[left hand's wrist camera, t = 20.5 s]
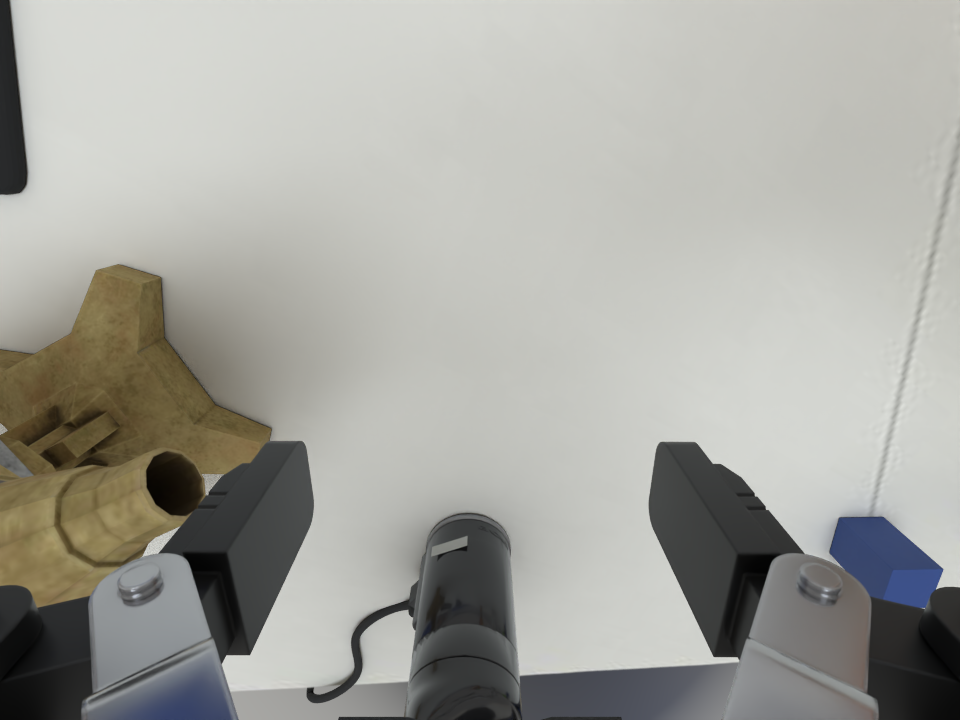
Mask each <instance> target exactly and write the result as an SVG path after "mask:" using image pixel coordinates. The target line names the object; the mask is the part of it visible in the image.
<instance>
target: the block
mask: <svg viewBox="0 0 960 720" xmlns="http://www.w3.org/2000/svg"><path fill="white" fill-rule="evenodd" d="M830 554H831V555H832V556H833V557H834V558H835V559H836V561H837V562H838V563H839V564H840V565H841V566H842V567H843V568H844V569H845V570H846V571H847V572H848V573H850V574H851V575H852V576H854V577H855V578H856V579H857V580H858V581H859V582H860V583H861V584H862V585H863V586H864V587H865V589H866V590H867V592H868V593H869V596H871V597H875V598H879V599H883V600H888V601H892V602H896V603H901V604H905V605H909V606H914V607H918V608H926V605H927V603H928V600H929V598H930V596H931V593H932V592H933V591H934V590H936V587H937V585H938V582H939V580H940V577H941V575H942V572H943V568H941V567H940V566H939V565H938V564H937V563H936V562H935V561H933V560H932V559H931V558H930V557H929V556H928V555H926V554H925V553H924V552H923V551H922V550H921V549H920V548H918V547H917V546H916V545H915V544H914V543H913V542H912V541H910V540H909V539H908V538H907V537H906V536H905V535H903V534H902V533H901V532H900V531H899V530H898V529H897V528H895V527H894V526H893V525H892V524H891V523H890V522H888V521H887V520H886V519H885V518H884V517H853V518H839V521H838V524H837V528H836V531H835V535H834V539H833V542H832V546H831V549H830Z"/></svg>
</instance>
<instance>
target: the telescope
mask: <svg viewBox="0 0 960 720" xmlns="http://www.w3.org/2000/svg"><path fill="white" fill-rule="evenodd" d="M0 423H1V424H2V425H4V427H5V428H6V429H7V430H8V431H7V432H5V433H3V434H1V435H0V586H4V585H18V586H23V587H25V588H27V589H28V590H29V591H30V592H31V594H32V596H33V599H34V601H35V604H36V606H37V608H38V607H43V606H47V605H52V604H56V603H60V602H65V601H69V600H73V599H78V598H82V597H86V596H90V595H91V593H92V592H93V590H94V589H95V587H96V586H97V585H98V584H99V583H100V582H101V581H102V580H103V579H104V578H105V577H106V576H108V575H109V574H110V573H112V572H113V571H114V570H116V569H118V568H119V567H121V566H123V565H125V564H127V563H129V562H131V561H133V560H136V559H139V558H141V557H142V556H143V554H144V552H145V549H146V547H147V545H148V543H150V542H151V541H152V540H153V539H154V538H155V537H158V536H160V535H162V534H164V533H166V532H168V531H171V530H173V529H175V528H177V527H179V526H181V525H182V524H183V523H184V522H185V521H186V519H187V518H188V517H189V516H190V515H191V513H192V512H193V511H194V510H195V509H198V505H199V504H200V502H201V501H202V500H203V499H204V498H205V496H206V495H205V483H204V478H203V476H202V474H226V473H228V472H229V471H231V470H233V469H234V468H236V467H237V466H239V465H240V464H242V463H251V461H252V460H253V459H254V458H255V456H256V455H257V454H258V452H259V451H260V450H261V448H262V447H263V446H264V444H265V443H266V442H268V441H269V440H270V435H271V430H272V429H271V428H268V427H266V426H264V425H261V424H259V423H256V422H254V421H252V420H249V419H247V418H245V417H242V416H240V415H238V414H235V413H233V412H231V411H228V410H226V409H224V408H221V407H219V406H217V405H215V404H214V403H213V401H212V400H211V399H210V397H209V396H208V395H207V393H206V392H205V391H204V389H203V388H202V387H201V385H200V384H199V383H198V382H197V380H196V379H195V378H194V376H193V375H192V374H191V372H190V371H189V370H188V368H187V367H186V366H185V364H184V363H183V362H182V361H181V359H180V358H179V357H178V355H177V354H176V353H175V351H174V350H173V349H172V347H171V346H170V345H169V343H168V342H167V341H166V340H165V338H164V325H163V308H162V292H161V277H158V276H155V275H151V274H148V273H145V272H142V271H138V270H135V269H132V268H129V267H125V266H122V265H119V264H118V265H114V266H110V267H107V268H103V269H99V270H96V272H95V274H94V277H93V279H92V282H91V284H90V287H89V289H88V292H87V294H86V297H85V299H84V302H83V304H82V307H81V309H80V312H79V314H78V317H77V319H76V322H75V324H74V327H73V329H72V332H71V334H69V335H67V336H66V337H64V338H62V339H60V340H58V341H57V342H55V343H53V344H51V345H50V346H48V347H46V348H44V349H42V350H41V351H39V352H37V353H35V354H26V353H19V352H12V351H5V350H0Z"/></svg>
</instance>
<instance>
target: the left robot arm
mask: <svg viewBox="0 0 960 720" xmlns="http://www.w3.org/2000/svg"><path fill="white" fill-rule="evenodd" d="M313 510H314V499H313V491H312V484H311V477H310V470H309V463H308V456H307V450H306V446H305V444H304V443H303V442H302V441H268V442H266V443H265V444H264V446H263V447H262V448H261V450H260V451H259V452H258V454H257V455H256V456H255V458H254V459H253V460H252V461H251V463H242V464H240V465H239V466H237V467H236V468H234V469H233V470H231V471H229V472H228V473H226V474H225V475H223V476H222V477H221V478H220V479H219V481H218V482H217V483H216V484H215V485H214V487H213V488H212V489H211V490H210V491H209V495H208V496H205V498H204V499H203V500H202V501H201V502H200V504H199V505H198V509H195V510H194V511H193V512H192V513H191V515H190V516H189V517H188V518H187V519H186V521H185V522H184V523H183V524H182V525H181V527H180V528H179V529H178V530H177V532H176V533H175V534H174V535H173V536H172V538H171V539H170V540H169V541H168V542H167V544H166V545H165V546H164V547H163V549H162V550H161V551H160V552H159V553H158V554H153V555H149V556H145V557H142V558H139V559H136V560H133V561H131V562H129V563H127V564H125V565H123V566H121V567H119V568H118V569H116V570H114V571H113V572H112V573H110V574H109V575H108V576H106V577H105V578H104V579H103V580H102V581H101V582H100V583H99V584H98V585H97V586H96V587H95V589H94V590H93V592H92V593H91V595H90V596H86V597H82V598H78V599H73V600H69V601H65V602H60V603H56V604H52V605H47V606H43V607H38V608H37V606H36V604H35V601H34V599H33V596H32V594H31V592H30V591H29V590H28V589H27V588H25V587H23V586H18V585H4V586H0V720H239V719H238V716H237V713H236V710H235V706H234V703H233V700H232V697H231V693H230V690H229V687H228V684H227V680H226V677H225V674H224V671H223V668H222V662H223V661H224V659H225V657H226V655H250V654H251V652H252V650H253V648H254V645H255V643H256V641H257V639H258V637H259V635H260V633H261V630H262V628H263V626H264V624H265V622H266V620H267V618H268V615H269V613H270V611H271V609H272V607H273V605H274V603H275V600H276V598H277V596H278V594H279V592H280V590H281V588H282V585H283V583H284V581H285V579H286V577H287V575H288V573H289V570H290V568H291V566H292V564H293V562H294V560H295V558H296V556H297V553H298V551H299V549H300V547H301V545H302V543H303V541H304V538H305V536H306V534H307V532H308V530H309V528H310V525H311V522H312V517H313ZM649 515H650V520H651V524H652V527H653V530H654V532H655V534H656V536H657V538H658V540H659V542H660V544H661V547H662V549H663V551H664V553H665V555H666V557H667V559H668V561H669V563H670V566H671V568H672V570H673V572H674V574H675V576H676V578H677V580H678V582H679V585H680V587H681V589H682V591H683V593H684V595H685V597H686V599H687V601H688V604H689V606H690V608H691V610H692V612H693V614H694V616H695V618H696V620H697V623H698V625H699V627H700V629H701V631H702V633H703V635H704V637H705V640H706V642H707V644H708V646H709V648H710V650H711V652H712V654H713V656H714V657H738V659H739V660H740V661H739V664H738V668H737V671H736V674H735V677H734V680H733V684H732V687H731V690H730V693H729V697H728V700H727V703H726V706H725V710H724V713H723V716H722V719H721V720H960V588H959V587H943V588H939V589H937V590H934V591H933V592H932V593H931V596H930V598H929V600H928V603H927V605H926V608H925V609H922V608H918V607H914V606H909V605H905V604H901V603H896V602H892V601H888V600H883V599H879V598H875V597H871V596H869V593H868V592H867V590H866V589H865V587H864V586H863V585H862V584H861V583H860V582H859V581H858V580H857V579H856V578H855V577H854V576H852V575H851V574H850V573H848V572H847V571H846V570H844V569H842V568H841V567H839V566H837V565H835V564H833V563H831V562H829V561H827V560H824V559H821V558H818V557H815V556H811V555H807V554H804V552H803V551H802V550H801V549H800V548H799V546H798V545H797V544H796V543H795V541H794V540H793V539H792V538H791V537H790V535H789V534H788V533H787V532H786V531H785V529H784V528H783V527H782V526H781V525H780V523H779V522H778V521H777V520H776V519H775V517H774V516H773V515H772V514H771V513H770V511H769V510H766V507H765V505H764V504H763V503H762V502H761V501H760V499H759V498H758V497H755V493H754V492H753V491H752V490H751V489H750V487H749V486H748V485H747V484H746V482H745V481H744V480H743V479H742V478H741V477H740V476H738V475H737V474H735V473H734V472H732V471H731V470H729V469H728V468H726V467H725V466H723V465H721V464H712V462H711V461H710V460H709V458H708V457H707V456H706V454H705V453H704V452H703V451H702V449H701V448H700V447H699V445H698V444H697V443H695V442H660V443H659V444H658V446H657V449H656V454H655V461H654V468H653V475H652V482H651V489H650V496H649ZM510 555H511V549H510V541H509V538H508V536H507V534H506V532H505V531H504V529H503V528H502V527H501V526H500V525H499V524H497V523H496V522H495V521H493V520H491V519H489V518H487V517H484V516H481V515H475V514H461V515H456V516H452V517H450V518H447V519H445V520H443V521H442V522H440V523H439V524H438V525H437V526H436V527H435V528H434V529H433V530H432V532H431V533H430V535H429V538H428V541H427V547H426V554H425V555H424V556H423V557H422V563H421V569H420V576H419V581H417V582H416V583H415V584H414V585H413V586H412V587H411V593H410V599H409V601H406V602H402V603H399V604H395V605H392V606H389V607H386V608H384V609H381V610H379V611H377V612H375V613H373V614H372V615H370V616H369V617H367V618H366V619H365V620H364V621H363V622H362V623H361V624H360V625H359V626H358V627H357V628H356V630H355V632H354V633H353V636H352V640H351V647H352V653H353V658H354V663H355V669H354V673H353V675H352V676H351V677H350V678H349V679H348V680H347V681H346V682H345V683H344V684H342V685H341V686H339V687H338V688H336V689H334V690H332V691H330V692H328V693H325V694H321V695H317V694H314V687H309V688H307V698H308V700H309V701H310V702H312V703H323V702H326V701H329V700H332V699H334V698H336V697H338V696H339V695H341V694H343V693H344V692H346V691H347V690H348V689H349V688H351V687H352V686H353V685H354V684H355V683H356V682H357V680H358V678H359V677H360V675H361V672H362V659H361V654H360V649H359V639H360V636H361V634H362V633H363V632H364V631H365V630H366V629H367V628H368V627H369V626H370V625H371V624H373V623H374V622H376V621H377V620H379V619H381V618H383V617H385V616H387V615H389V614H392V613H395V612H398V611H402V610H409V615H410V616H411V617H413V628H414V630H415V631H416V632H415V639H414V646H413V654H412V662H411V669H410V676H409V684H408V691H407V698H406V706H405V713H404V717H339V719H338V720H522V704H521V690H520V677H519V664H518V653H517V640H516V627H515V614H514V600H513V587H512V574H511V561H510ZM543 720H622V719H621V717H550V718H546V719H543Z"/></svg>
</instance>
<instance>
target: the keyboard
mask: <svg viewBox="0 0 960 720" xmlns="http://www.w3.org/2000/svg"><path fill="white" fill-rule="evenodd" d="M25 181H26V167H25V157H24V148H23V138H22V129H21V119H20V110H19V100H18V91H17V81H16V72H15V62H14V53H13V43H12V34H11V24H10V15H9V5H8V0H0V194H5V195H9V194H16V193H20V191H21V190H22V189H23V187H24V186H25Z"/></svg>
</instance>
